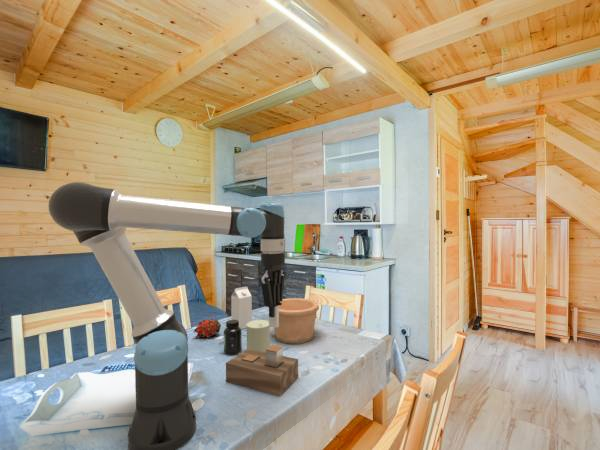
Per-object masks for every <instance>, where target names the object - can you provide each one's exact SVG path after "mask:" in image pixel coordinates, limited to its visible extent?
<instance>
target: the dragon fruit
mask: <svg viewBox="0 0 600 450" xmlns="http://www.w3.org/2000/svg"><path fill="white" fill-rule="evenodd" d="M221 326H222V324H221V323H220V321H218V320H217V319H213V318H211V317H210V318H209V319H206V318H205V319H203V320H202V321H200V322H199V323H198V325H197V326H196V327H195V328H194V330H193V333H196V336H197V337H199V338H206V337H207V339H210V338H211V337H214V336H215V334H218V333H220V330H221Z"/></svg>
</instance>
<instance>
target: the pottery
mask: <svg viewBox="0 0 600 450" xmlns="http://www.w3.org/2000/svg"><path fill="white" fill-rule="evenodd" d="M280 303H282V305H279V326H278V327H277V328H276V327H273V330H274V334H275V336H274V337H275V339H276V340H277V341H278V342H280V343H283V344H287V345H298V344H299V345H301V344H304V343H308V342H309V341H311V340H312V339H313V338H314V332H315V324H316V317H317V312H318V311H319V309H320V305H319V303H318V302H317V301H316V300H312V299H309V298H301V297H300V298H299V297H297V298H296V297H294V298H292V297H291V298H289V297H288V298H283V300H282V302H280Z"/></svg>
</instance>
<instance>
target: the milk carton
mask: <svg viewBox="0 0 600 450" xmlns="http://www.w3.org/2000/svg"><path fill="white" fill-rule="evenodd" d="M230 298H231V299H230V300H231V301H230V303H231V305H230V306H231V308H230V309H231V312H230V313H231V320H238V321H239V326H238V327H240V328H241V330H244V329H247V326H246V324H247V323H248V322H251V321H253V316H252V315H253V312H252V311H253V308H252V307H253V305H252V303H253V302H252V294H251V292H250V291H249V287H248V286H243V287H242V286H241V287H236V288H234V292H232V294H231V297H230Z"/></svg>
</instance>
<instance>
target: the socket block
mask: <svg viewBox="0 0 600 450" xmlns="http://www.w3.org/2000/svg"><path fill="white" fill-rule="evenodd" d="M249 354H251V355H255V356H259V359H257V360H256V361H255V362H253V363H251V362H247V361H242V359H243V358H244V357H246V356H247V355H249ZM298 378H299V359H298V358H294V357H290V356H284V355H283V364H282V365H281V366H279V367H278V368H273V367H268V366H266V352H261V351H257V350H252V349H247V348H246V349H245V350H243V351H241V352H240V353H239V354H236V356H234V357H233V358H231V359H230V360H228V361H226V362H225V382H226V383H227V382H228V383H232V384H234V385H238V386H241V387H245V388H248V389H253V390H256V391H259V392H263V393H268V394H271V395H274V396H277V397H281V396H282V395H283V394H284V393H285V392H286V391H287V390H288V389H290V387H291V386H292V385H293V383H295V382H296V380H297V379H298Z"/></svg>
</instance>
